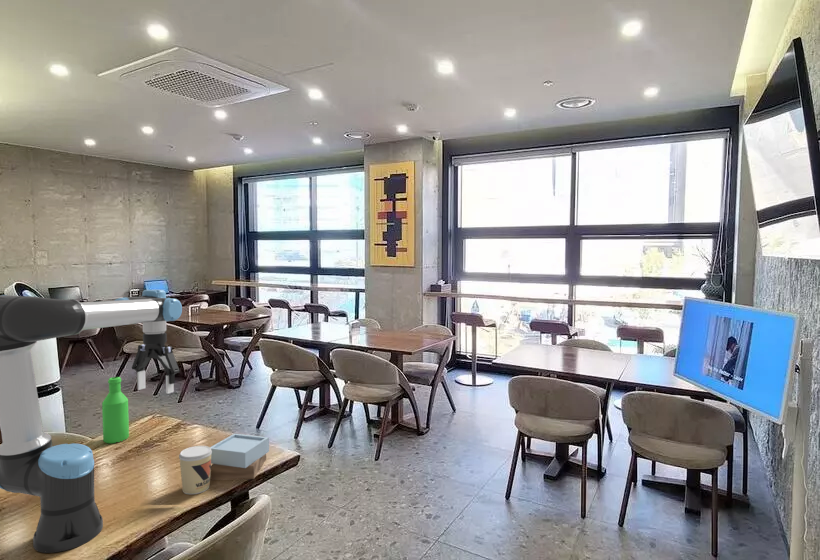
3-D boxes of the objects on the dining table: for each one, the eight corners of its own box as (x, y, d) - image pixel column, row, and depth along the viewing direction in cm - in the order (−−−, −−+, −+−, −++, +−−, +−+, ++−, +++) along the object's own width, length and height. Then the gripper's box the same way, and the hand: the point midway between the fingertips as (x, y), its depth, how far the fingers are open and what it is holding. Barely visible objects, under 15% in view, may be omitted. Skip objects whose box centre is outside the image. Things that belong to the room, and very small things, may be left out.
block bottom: (253, 481, 155) (253, 466, 155) (210, 481, 155) (210, 466, 155) (266, 462, 169) (266, 449, 169) (226, 463, 169) (226, 449, 169)
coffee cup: (197, 498, 144) (196, 459, 143) (172, 493, 147) (172, 454, 146) (218, 484, 152) (218, 447, 152) (195, 479, 155) (194, 443, 155)
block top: (245, 468, 154) (245, 452, 153) (208, 463, 157) (208, 448, 157) (269, 451, 167) (269, 437, 167) (234, 447, 171) (234, 433, 170)
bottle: (127, 434, 195) (125, 374, 194) (131, 440, 188) (129, 378, 187) (101, 439, 189) (99, 377, 188) (104, 446, 183) (103, 382, 181)
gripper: (189, 332, 170) (190, 391, 171) (138, 329, 179) (139, 385, 180) (172, 335, 163) (173, 397, 164) (120, 331, 172) (121, 390, 173)
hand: (155, 390), depth 172 cm, fingers open, 13 cm apart
